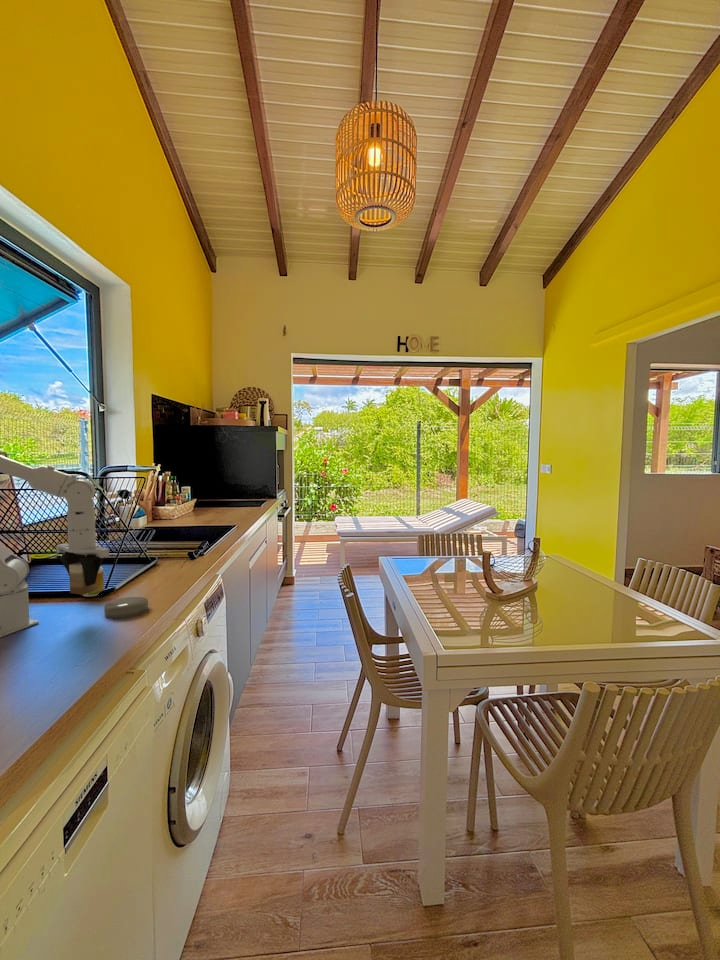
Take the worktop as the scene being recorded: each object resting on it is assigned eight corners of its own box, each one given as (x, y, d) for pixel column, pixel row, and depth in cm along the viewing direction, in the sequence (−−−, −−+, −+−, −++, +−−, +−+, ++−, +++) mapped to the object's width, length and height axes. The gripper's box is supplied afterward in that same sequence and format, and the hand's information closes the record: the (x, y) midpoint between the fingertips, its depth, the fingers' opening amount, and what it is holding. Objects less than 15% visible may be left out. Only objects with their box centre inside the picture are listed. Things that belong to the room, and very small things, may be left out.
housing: (82, 594, 107) (81, 566, 107) (70, 592, 108) (69, 564, 108) (97, 589, 111) (96, 562, 110) (84, 588, 112) (83, 560, 112)
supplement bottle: (108, 591, 130) (107, 558, 129) (95, 597, 124) (94, 563, 124) (90, 590, 130) (89, 557, 130) (77, 596, 125) (76, 562, 124)
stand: (126, 620, 109) (126, 612, 109) (94, 615, 112) (94, 607, 112) (156, 606, 118) (156, 599, 118) (126, 602, 121) (126, 594, 121)
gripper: (118, 528, 110) (120, 582, 111) (73, 524, 114) (75, 575, 115) (93, 533, 103) (95, 590, 104) (47, 528, 108) (49, 583, 109)
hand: (83, 583), depth 109 cm, fingers closed on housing, 4 cm apart
